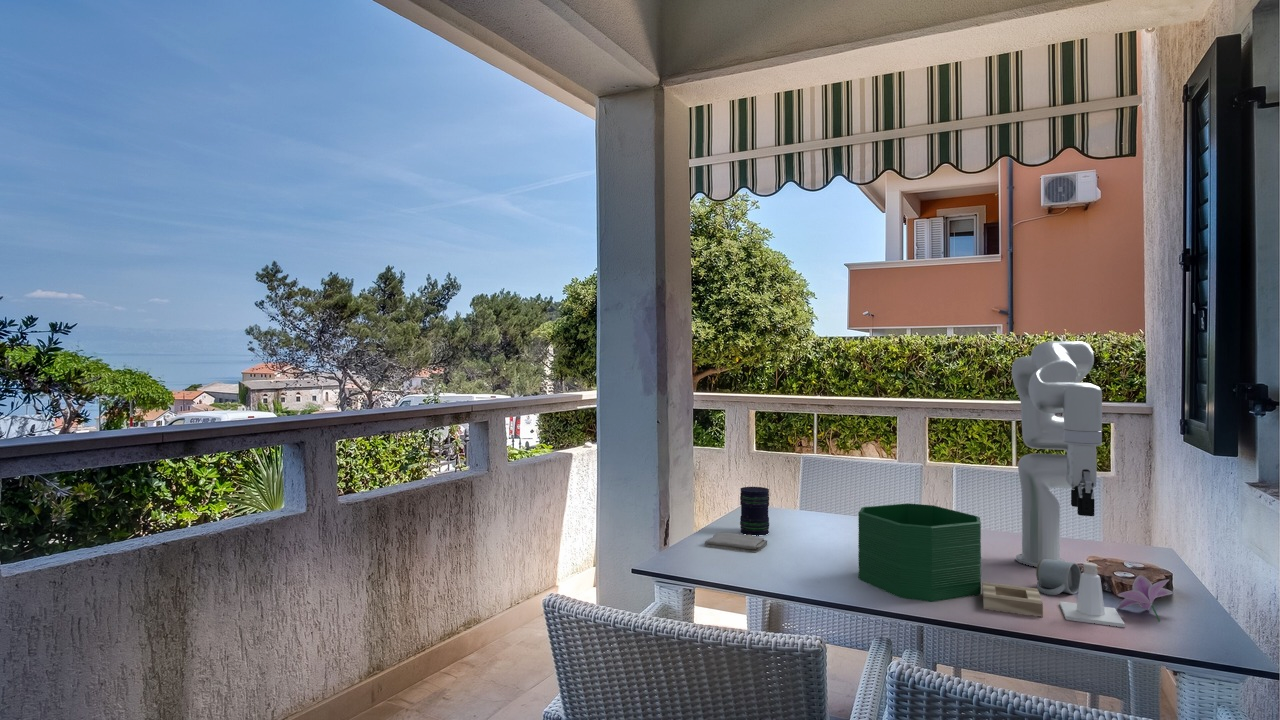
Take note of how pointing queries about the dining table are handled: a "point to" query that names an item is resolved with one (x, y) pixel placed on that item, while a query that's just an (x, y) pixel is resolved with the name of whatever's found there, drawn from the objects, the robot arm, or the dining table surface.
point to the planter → (920, 551)
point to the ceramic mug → (1058, 576)
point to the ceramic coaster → (1107, 619)
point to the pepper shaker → (1090, 592)
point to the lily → (1144, 593)
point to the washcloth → (736, 542)
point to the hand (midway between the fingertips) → (1082, 511)
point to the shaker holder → (1012, 599)
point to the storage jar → (754, 511)
